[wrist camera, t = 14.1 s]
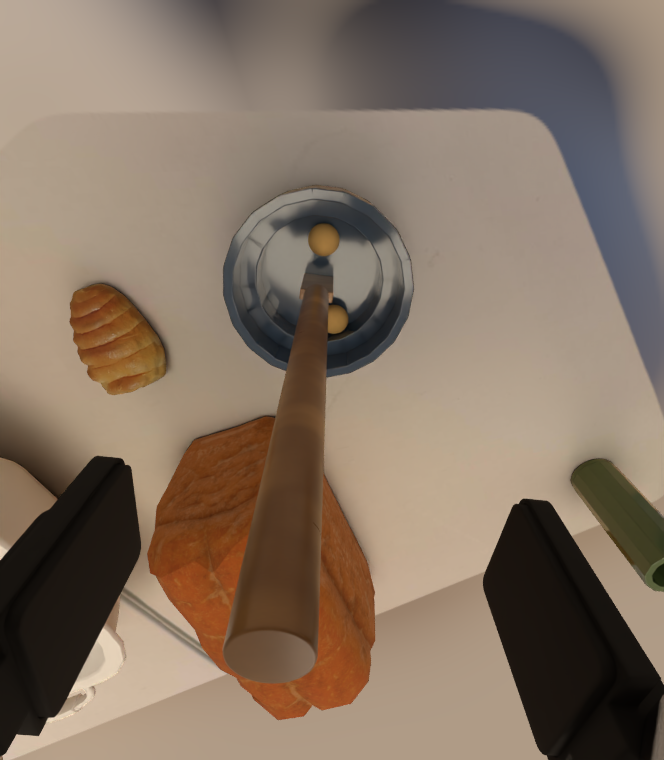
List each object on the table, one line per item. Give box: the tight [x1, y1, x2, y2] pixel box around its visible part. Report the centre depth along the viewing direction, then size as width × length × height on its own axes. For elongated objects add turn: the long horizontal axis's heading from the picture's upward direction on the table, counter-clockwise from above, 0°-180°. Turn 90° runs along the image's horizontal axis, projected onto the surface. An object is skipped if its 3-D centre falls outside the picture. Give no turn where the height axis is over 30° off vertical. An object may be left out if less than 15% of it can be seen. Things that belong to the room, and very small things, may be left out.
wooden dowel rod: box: [222, 273, 333, 683], centre depth 21 cm, size 2×2×30 cm
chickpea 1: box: [308, 223, 339, 256], centre depth 32 cm, size 2×2×2 cm
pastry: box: [70, 284, 166, 395], centre depth 36 cm, size 9×7×4 cm
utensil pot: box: [571, 459, 664, 592], centre depth 39 cm, size 5×5×12 cm
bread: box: [147, 416, 375, 720], centre depth 41 cm, size 14×27×15 cm, turn 21°
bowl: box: [223, 185, 414, 377], centre depth 32 cm, size 13×13×6 cm
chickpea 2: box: [328, 305, 348, 334], centre depth 35 cm, size 2×2×2 cm
